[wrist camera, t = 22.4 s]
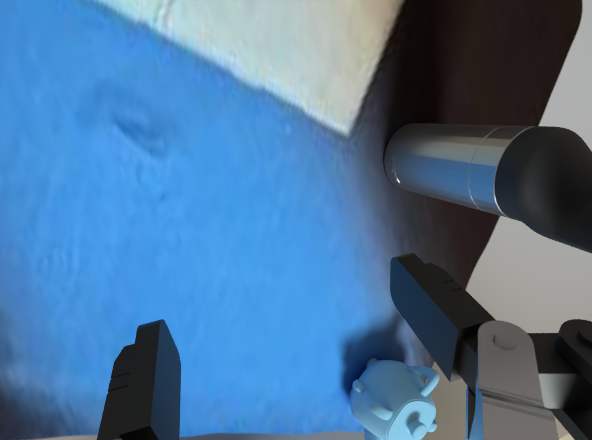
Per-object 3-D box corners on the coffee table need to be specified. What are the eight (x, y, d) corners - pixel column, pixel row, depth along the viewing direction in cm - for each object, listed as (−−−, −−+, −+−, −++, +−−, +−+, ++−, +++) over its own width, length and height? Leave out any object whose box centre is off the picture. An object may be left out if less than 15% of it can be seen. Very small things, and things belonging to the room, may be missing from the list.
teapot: (403, 337, 60) (454, 377, 50) (406, 405, 64) (454, 455, 54) (337, 363, 56) (378, 413, 46) (345, 434, 60) (385, 494, 50)
